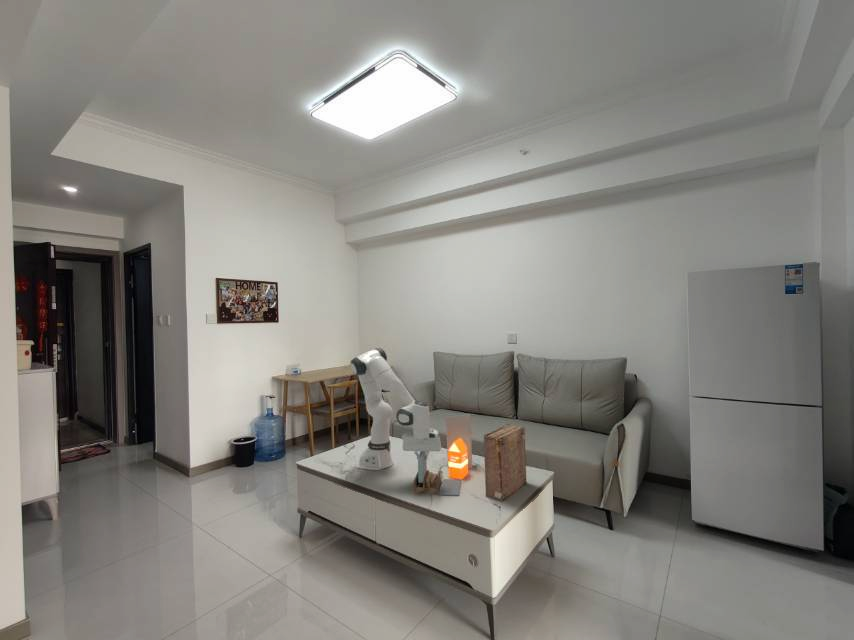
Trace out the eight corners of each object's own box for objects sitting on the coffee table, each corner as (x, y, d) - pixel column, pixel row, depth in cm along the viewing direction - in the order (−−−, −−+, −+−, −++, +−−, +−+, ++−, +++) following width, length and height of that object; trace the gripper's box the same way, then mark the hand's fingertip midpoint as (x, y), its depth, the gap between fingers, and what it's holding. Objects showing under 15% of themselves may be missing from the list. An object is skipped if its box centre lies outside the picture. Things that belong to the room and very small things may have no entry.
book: (510, 478, 211) (509, 423, 210) (526, 483, 205) (524, 426, 204) (485, 496, 192) (483, 435, 191) (502, 501, 186) (500, 438, 185)
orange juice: (468, 473, 220) (467, 438, 219) (461, 479, 212) (460, 442, 212) (455, 471, 224) (454, 436, 223) (448, 477, 216) (447, 441, 216)
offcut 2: (431, 491, 199) (430, 480, 199) (433, 483, 208) (433, 473, 208) (434, 491, 199) (434, 480, 199) (437, 483, 208) (436, 473, 208)
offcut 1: (426, 491, 199) (426, 480, 199) (429, 483, 209) (428, 472, 209) (430, 491, 199) (429, 480, 199) (433, 483, 209) (432, 472, 209)
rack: (413, 493, 197) (413, 481, 197) (419, 480, 213) (418, 469, 213) (437, 494, 195) (436, 482, 195) (440, 480, 211) (440, 469, 211)
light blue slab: (418, 482, 200) (417, 457, 199) (422, 472, 211) (421, 448, 211) (423, 482, 199) (422, 457, 199) (426, 472, 211) (426, 449, 211)
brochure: (472, 464, 233) (470, 414, 232) (472, 468, 227) (470, 416, 227) (448, 464, 234) (446, 414, 234) (447, 468, 229) (446, 416, 228)
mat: (438, 495, 194) (438, 494, 194) (442, 480, 212) (442, 479, 212) (458, 496, 193) (458, 494, 193) (461, 480, 211) (461, 479, 211)
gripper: (400, 434, 203) (401, 460, 203) (440, 434, 201) (440, 461, 201) (403, 430, 209) (403, 456, 210) (441, 431, 207) (441, 457, 207)
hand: (422, 459), depth 205 cm, fingers closed on light blue slab, 2 cm apart
